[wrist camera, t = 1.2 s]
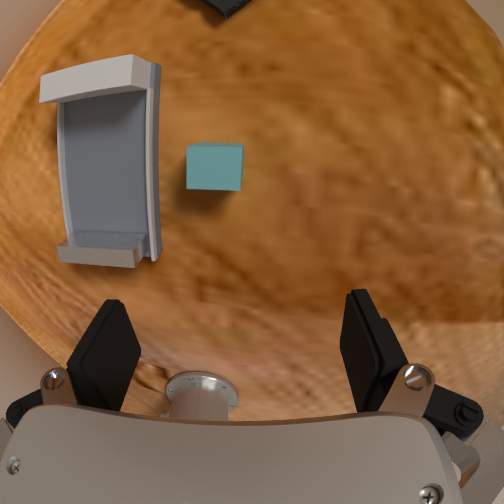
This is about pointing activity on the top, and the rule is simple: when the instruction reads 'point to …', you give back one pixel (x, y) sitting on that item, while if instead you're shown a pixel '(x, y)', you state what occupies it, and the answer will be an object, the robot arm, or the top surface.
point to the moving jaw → (104, 248)
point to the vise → (108, 146)
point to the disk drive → (226, 6)
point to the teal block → (215, 166)
